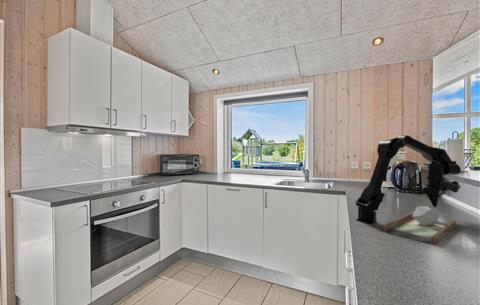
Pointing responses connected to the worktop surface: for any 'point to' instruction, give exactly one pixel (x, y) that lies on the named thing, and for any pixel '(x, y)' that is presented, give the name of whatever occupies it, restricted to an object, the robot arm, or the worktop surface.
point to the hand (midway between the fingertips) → (435, 206)
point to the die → (425, 216)
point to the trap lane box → (418, 229)
